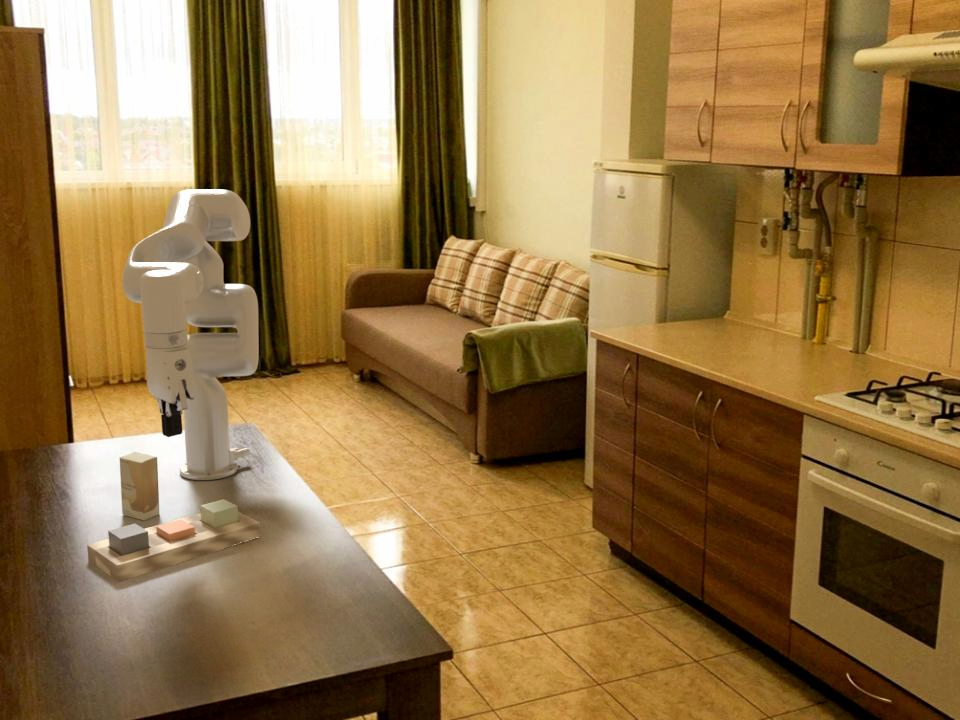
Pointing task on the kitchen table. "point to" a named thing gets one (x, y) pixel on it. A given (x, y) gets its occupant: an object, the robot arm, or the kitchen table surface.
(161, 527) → the terracotta key
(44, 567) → the kitchen table surface
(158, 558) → the board
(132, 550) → the charcoal key
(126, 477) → the skincare box
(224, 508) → the sage key
